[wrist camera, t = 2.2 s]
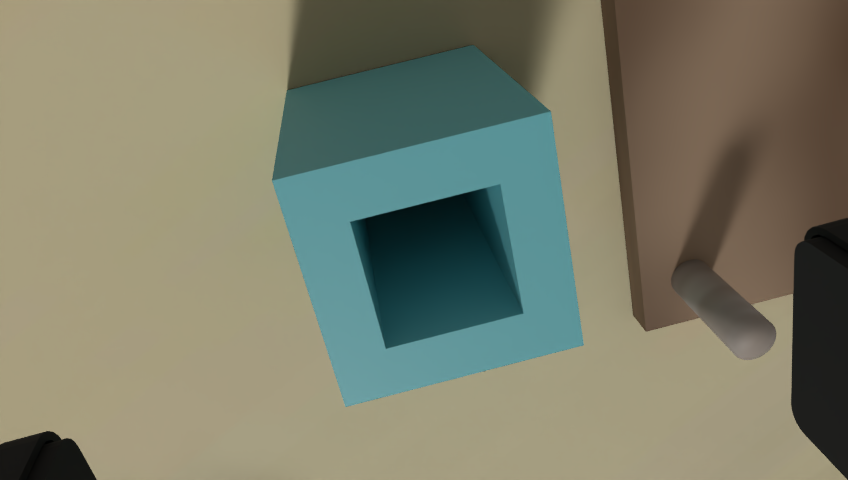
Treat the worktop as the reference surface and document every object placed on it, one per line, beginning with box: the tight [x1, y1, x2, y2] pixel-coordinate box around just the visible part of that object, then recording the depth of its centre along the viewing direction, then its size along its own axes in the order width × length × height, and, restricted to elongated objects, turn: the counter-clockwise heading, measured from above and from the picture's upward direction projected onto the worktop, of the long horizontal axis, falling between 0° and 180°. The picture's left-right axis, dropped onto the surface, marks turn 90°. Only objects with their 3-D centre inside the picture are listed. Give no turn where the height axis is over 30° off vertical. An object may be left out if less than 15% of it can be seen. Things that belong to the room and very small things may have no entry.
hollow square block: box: [272, 45, 584, 407], centre depth 17 cm, size 5×5×7 cm
